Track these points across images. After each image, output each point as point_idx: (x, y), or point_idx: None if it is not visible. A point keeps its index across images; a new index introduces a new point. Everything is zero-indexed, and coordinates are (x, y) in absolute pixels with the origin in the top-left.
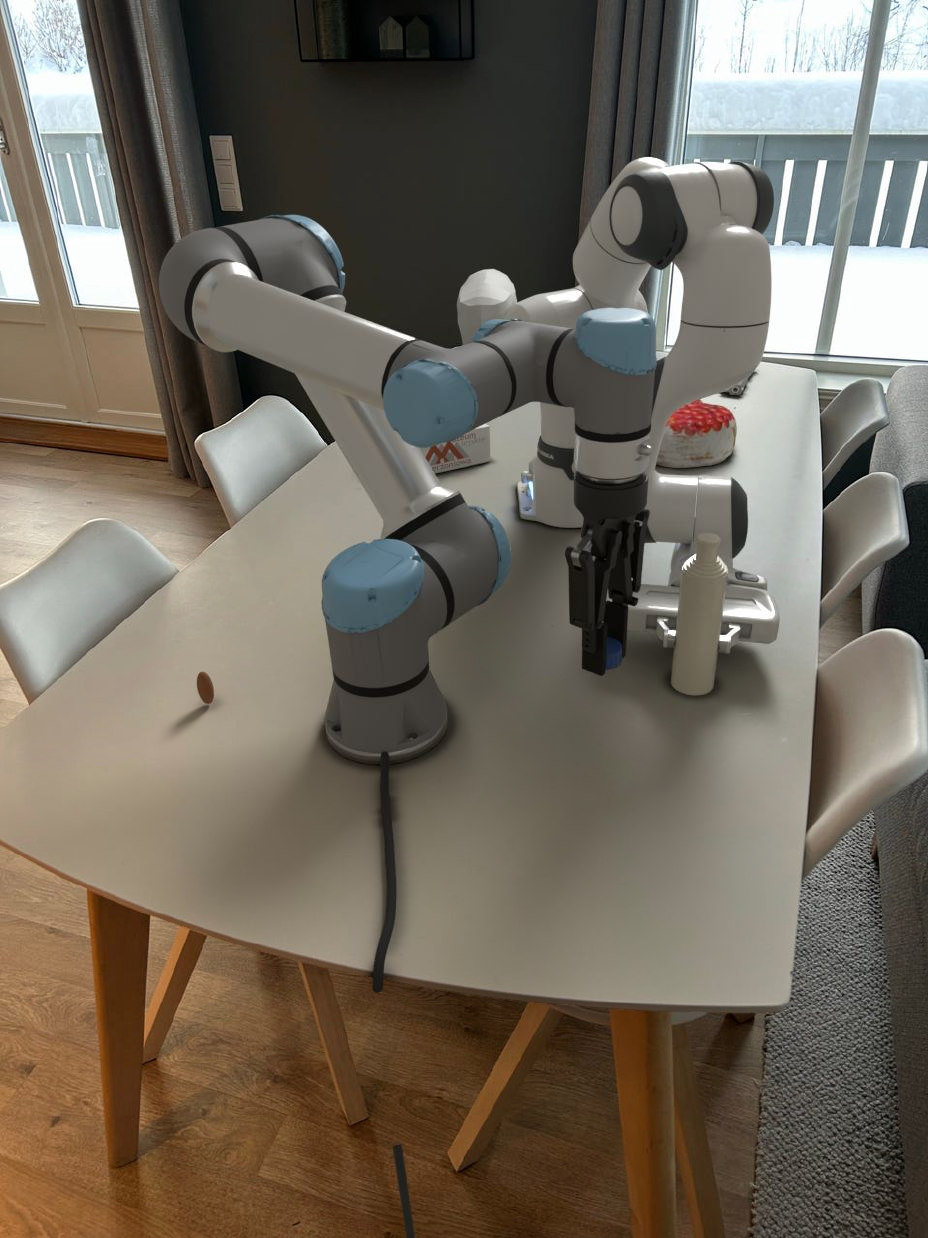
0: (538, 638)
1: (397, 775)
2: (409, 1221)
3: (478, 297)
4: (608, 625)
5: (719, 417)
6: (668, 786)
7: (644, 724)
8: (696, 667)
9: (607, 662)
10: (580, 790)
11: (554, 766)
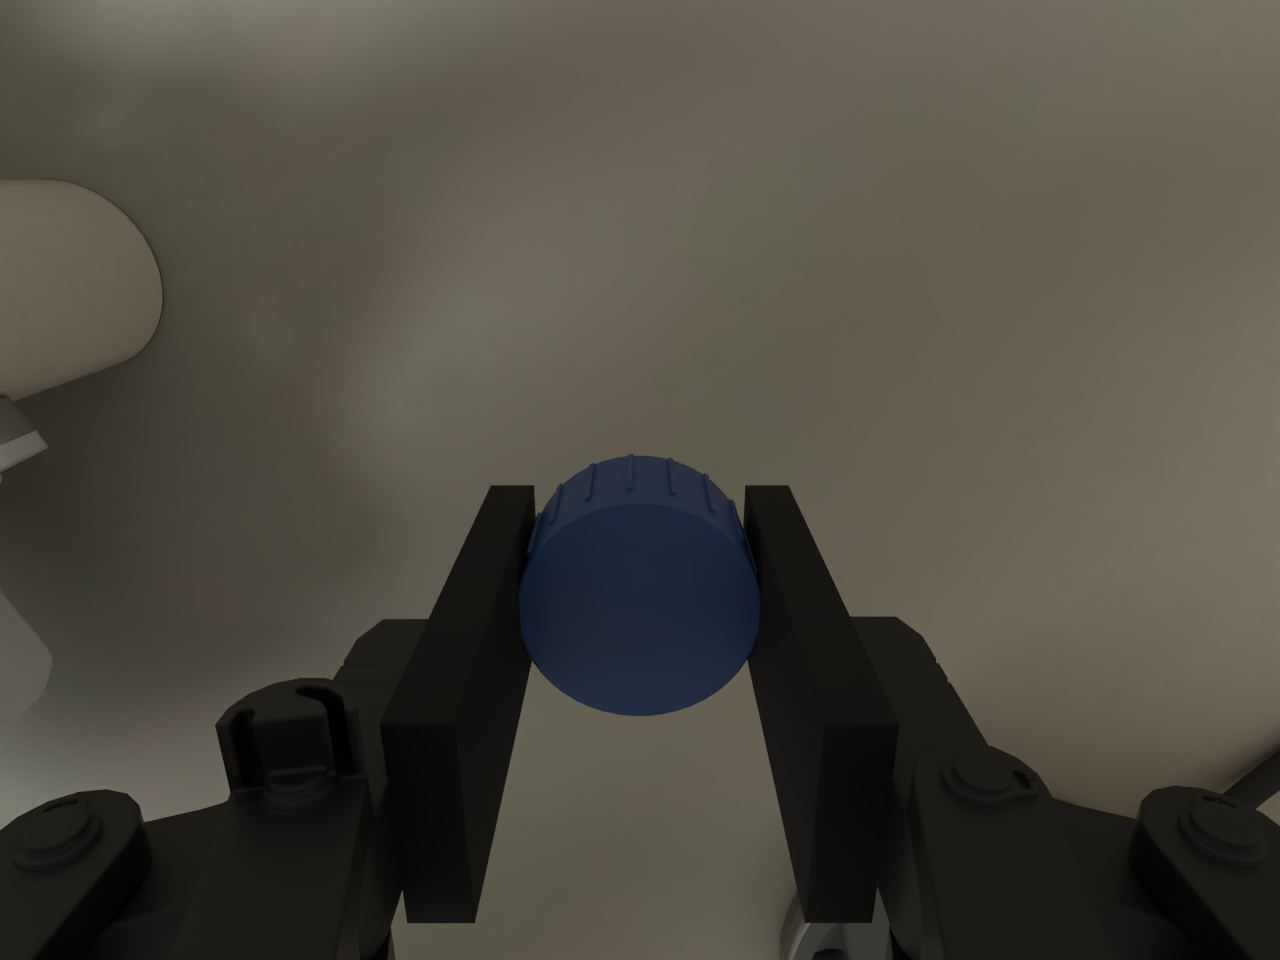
0: None
1: None
2: None
3: None
4: (509, 716)
5: None
6: (734, 12)
7: (448, 303)
8: (32, 241)
9: (729, 516)
10: (937, 300)
11: (867, 447)
